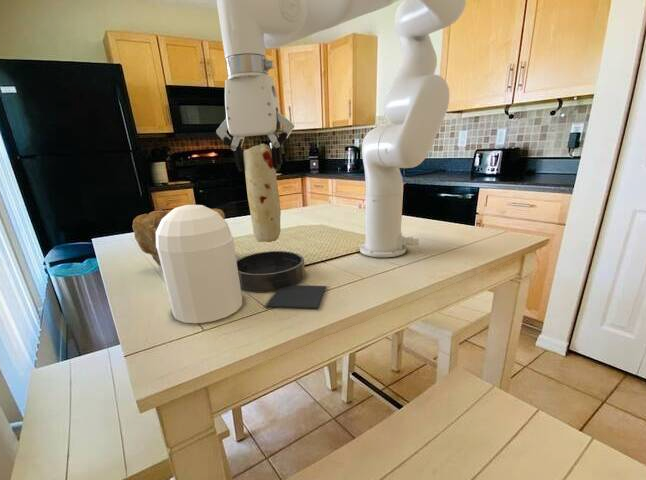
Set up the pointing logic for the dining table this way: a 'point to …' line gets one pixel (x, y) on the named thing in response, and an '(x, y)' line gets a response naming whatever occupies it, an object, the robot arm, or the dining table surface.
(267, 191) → the food model
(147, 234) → the rough brown rock
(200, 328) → the dining table surface
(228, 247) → the container
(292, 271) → the pan
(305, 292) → the mat
